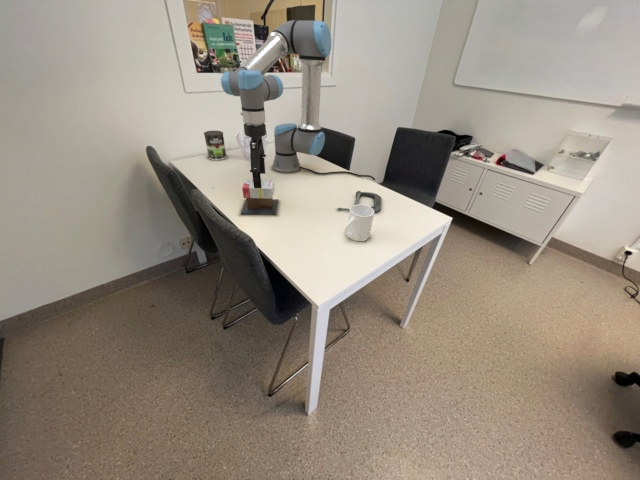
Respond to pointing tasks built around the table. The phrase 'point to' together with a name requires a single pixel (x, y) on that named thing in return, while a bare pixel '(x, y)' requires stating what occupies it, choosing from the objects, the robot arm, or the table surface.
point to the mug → (359, 222)
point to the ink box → (258, 189)
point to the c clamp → (377, 198)
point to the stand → (260, 206)
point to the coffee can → (215, 145)
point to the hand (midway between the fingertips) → (260, 180)
